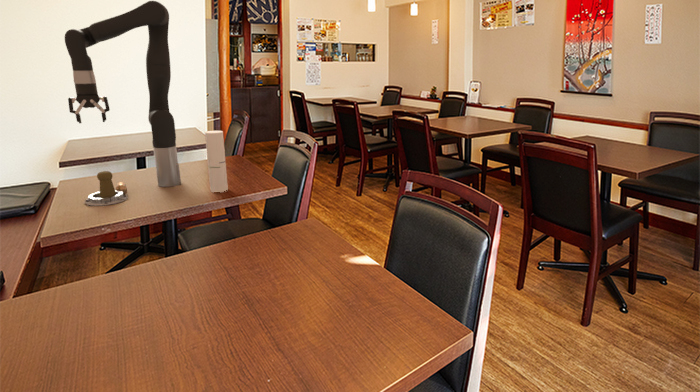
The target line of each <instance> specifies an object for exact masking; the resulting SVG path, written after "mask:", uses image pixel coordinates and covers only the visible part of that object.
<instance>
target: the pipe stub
mask: <svg viewBox="0 0 700 392" xmlns="http://www.w3.org/2000/svg"><path fill="white" fill-rule="evenodd" d="M115 190H120V191H123V194H126V195H127V192H128V188H127V186H126V183H125V182H123V181H119V182H117V184H116V187H115Z"/></svg>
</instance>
